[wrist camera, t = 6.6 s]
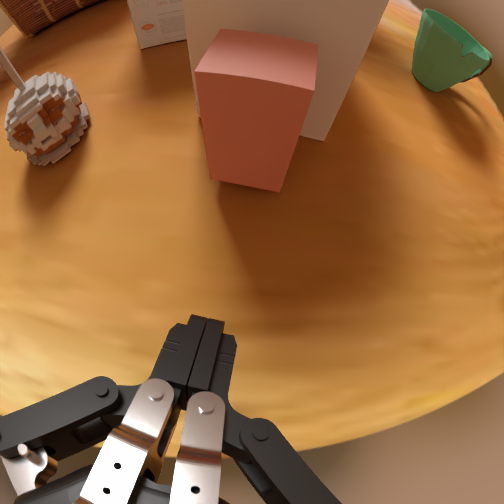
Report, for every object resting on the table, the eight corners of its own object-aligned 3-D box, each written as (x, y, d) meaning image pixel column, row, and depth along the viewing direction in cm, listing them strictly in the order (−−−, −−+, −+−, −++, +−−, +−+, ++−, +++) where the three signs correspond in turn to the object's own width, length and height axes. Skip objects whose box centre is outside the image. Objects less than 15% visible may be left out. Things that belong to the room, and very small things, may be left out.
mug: (421, 102, 25) (461, 49, 15) (383, 52, 27) (409, 0, 17) (480, 112, 26) (514, 76, 16) (447, 67, 28) (473, 29, 19)
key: (210, 179, 19) (194, 71, 10) (250, 63, 23) (257, -21, 13) (279, 192, 19) (314, 90, 10) (300, 72, 23) (322, -10, 13)
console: (198, 117, 22) (176, -56, 6) (238, 34, 25) (243, -77, 10) (323, 141, 22) (398, -22, 6) (329, 51, 25) (364, -56, 10)
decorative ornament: (35, 182, 20) (-60, 93, 5) (30, 134, 21) (-37, 51, 6) (98, 137, 21) (26, 14, 6) (85, 95, 22) (34, -6, 8)
